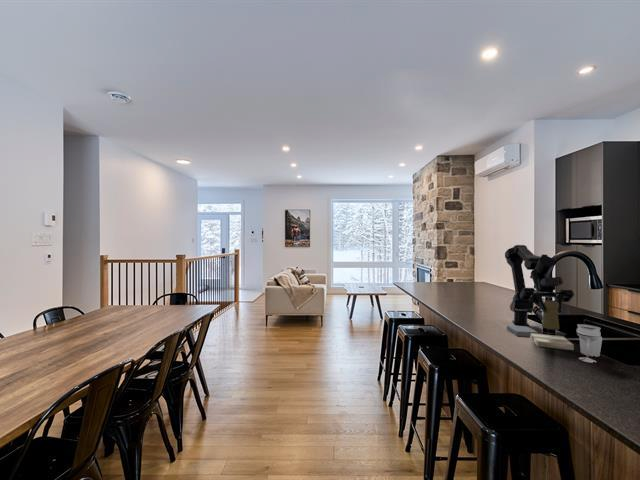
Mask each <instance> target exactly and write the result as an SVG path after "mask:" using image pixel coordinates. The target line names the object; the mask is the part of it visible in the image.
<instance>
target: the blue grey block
mask: <svg viewBox="0 0 640 480" xmlns="http://www.w3.org/2000/svg"><path fill="white" fill-rule="evenodd" d="M506 331H507V332H509V333H511V334H513V335H514V336H516V337H530V333H535V334H539V332H538V331H536V330H535V329H533V328H531V327H529V326H526V325H506Z"/></svg>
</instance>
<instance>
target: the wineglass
mask: <svg viewBox="0 0 640 480" xmlns="http://www.w3.org/2000/svg"><path fill="white" fill-rule="evenodd" d="M601 329H602V328H601V327H599V326H596V325H591V324H586V323H585V324H583V323H578V324H577V328H576V334H577V336H578V337H579V339H580V338H581V339H583V340H585V342H587V355H586V357H582V356H581V357H578V359H579V360H580V361H582V362H586V363H593V362H595V363H597V360H595V359H593V358H589V356H588V353H589V343H591V342H592V341H596V340H597V339H599V338H600V336H601V333H602V332H601V331H600V330H601ZM593 364H594V363H593Z"/></svg>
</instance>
